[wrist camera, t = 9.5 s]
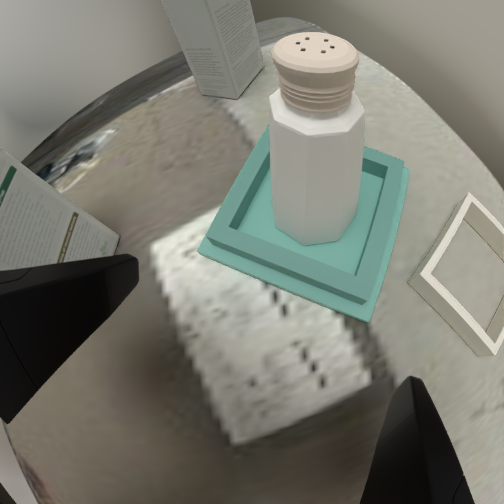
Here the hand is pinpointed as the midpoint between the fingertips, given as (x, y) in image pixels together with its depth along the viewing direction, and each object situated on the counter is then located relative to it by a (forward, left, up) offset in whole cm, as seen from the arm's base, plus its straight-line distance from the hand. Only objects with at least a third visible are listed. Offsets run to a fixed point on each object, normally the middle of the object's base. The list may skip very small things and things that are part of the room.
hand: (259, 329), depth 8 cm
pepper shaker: (+8, +1, -8) cm, 11 cm away
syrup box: (-1, +16, -8) cm, 18 cm away
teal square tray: (+8, +1, -8) cm, 12 cm away
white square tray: (+7, -11, -8) cm, 16 cm away
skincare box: (+20, +12, -8) cm, 25 cm away
